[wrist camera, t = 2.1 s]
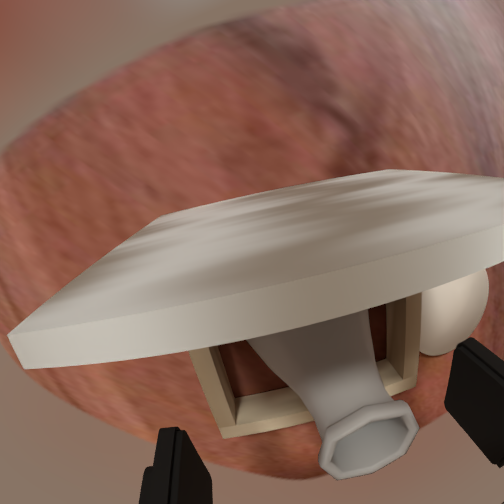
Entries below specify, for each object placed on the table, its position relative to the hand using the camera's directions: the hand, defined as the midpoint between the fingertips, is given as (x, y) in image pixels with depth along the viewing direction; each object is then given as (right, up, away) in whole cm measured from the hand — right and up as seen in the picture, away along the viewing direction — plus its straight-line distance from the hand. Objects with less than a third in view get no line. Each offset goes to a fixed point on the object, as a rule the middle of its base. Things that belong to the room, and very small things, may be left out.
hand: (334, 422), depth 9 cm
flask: (0, +2, +8) cm, 9 cm away
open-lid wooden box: (0, +2, +8) cm, 8 cm away
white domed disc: (+10, +2, +9) cm, 14 cm away
